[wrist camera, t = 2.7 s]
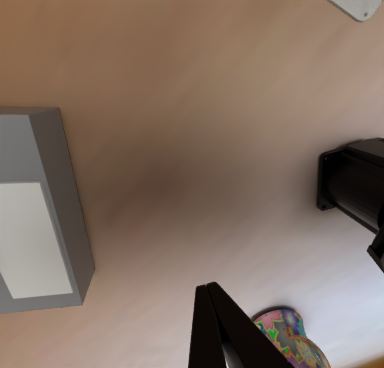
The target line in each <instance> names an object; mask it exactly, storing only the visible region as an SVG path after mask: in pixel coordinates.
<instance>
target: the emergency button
mask: <svg viewBox="0 0 384 368" xmlns="http://www.w3.org/2000/svg"><path fill="white" fill-rule="evenodd" d="M328 1H329V2H330V3H332V4H333V5H335V6H336V7H337V8H339V9H340V10H341V11H343V12H344V13H346V14H347V15H348V16H350V17H351V18H352V19H354V20H355V21H358V22H364V21H366V20H367V19H369V18H371V17H372V15H373V14H374V13H375V12H376V10H377V9H378V7H379V6H380V4H381V2H382V1H383V0H328Z"/></svg>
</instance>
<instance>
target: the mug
mask: <svg viewBox="0 0 384 368" xmlns="http://www.w3.org/2000/svg"><path fill="white" fill-rule="evenodd" d="M254 323H255V324H256V326H257V327H258V328H259V329H260V330H261V331H262V332H263V333H264V334H265V335H266V336H267V338H268V339H269V340H270V341H271V342H272V343H273V344H274V345H275V346H276V347H277V348H278V349H279V351H280V352H281V353H282V354H283V355H284V356H285V357H286V358H287V360H288V361H290V362H291V363H292V365H293V366H294V367H295V368H331V367H330V364H329V362H328V360H327V358H326V357H325V355H324V354H323V352H322V351H321V350H320V349H319V347H318V346H317V345H316V344H315V343H313V342H312V341H311V340H309V339H308V338H307V336H306V333H305V330H304V326H303V320H302V318H301V316H300V315H299V314H298V313H296V312H294V311H292V310H285V309H281V310H275V311H271V312H268V313H266V314H264V315H262V316H260V317H259V318H257V319H256V320H255V321H254ZM315 353H316V354H315ZM316 355H317V356H318V357H317V356H316ZM318 358H319V359H320V360H319V359H318ZM320 361H321V362H320Z"/></svg>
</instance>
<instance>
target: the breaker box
mask: <svg viewBox="0 0 384 368" xmlns="http://www.w3.org/2000/svg"><path fill="white" fill-rule="evenodd" d="M94 270H95V268H94V263H93V259H92V254H91V250H90V245H89V241H88V236H87V232H86V227H85V223H84V218H83V214H82V209H81V205H80V200H79V196H78V191H77V187H76V182H75V178H74V174H73V169H72V165H71V160H70V156H69V151H68V147H67V142H66V138H65V133H64V129H63V124H62V120H61V115H60V111H59V108H36V107H0V314H4V313H14V312H23V311H32V310H41V309H51V308H60V307H69V306H79V305H83V302H84V299H85V296H86V293H87V290H88V287H89V285H90V282H91V279H92V276H93V273H94Z"/></svg>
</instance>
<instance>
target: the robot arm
mask: <svg viewBox="0 0 384 368" xmlns="http://www.w3.org/2000/svg"><path fill="white" fill-rule="evenodd" d="M326 157H327V159H326V160H325V158H326ZM335 207H336V208H338V209H339V210H341V211H342V212H344V213H345V214H346V215H348V216H349V217H351V218H352V219H354V220H355V221H357V222H358V223H360V224H361V225H362V226H364V227H365V228H367V229H368V230H370V231H371V232H373V233H374V234H376V236H375V238H374V240H373V242H372V244H371V245H369V247H368V249H367V252H368V253H369V255H370V256H371V257H372V259H373V260H374V261H375V262H376V264H377V265H378V266H379V268H380V269H381V270H382V271H383V273H384V138H377V139H368V140H364V141H360V142H357V143H353V144H349V145H346V146H345V147H344V148H341V149H337V150H333V151H330V152H326V153H323V154H322V155H321V157H320V163H319V181H318V199H317V208H318V209H320V210H321V211H324V210H328V209H331V208H335ZM225 358H226V361H227V364H228V366H229V368H295V367H294V366H293V365H292V363H291V362H290V361H288V360H287V358H286V357H285V356H284V355H283V354H282V353H281V352H280V351H279V349H278V348H277V347H276V346H275V345H274V344H273V343H272V342H271V341H270V340H269V339H268V338H267V336H266V335H265V334H264V333H263V332H262V331H261V330H260V329H259V328H258V327H257V326H256V324H255V323H254V322H253V321H252V320H251V319H250V318H249V317H248V316H247V315H246V314H245V313H244V311H243V310H242V309H241V308H240V307H239V306H238V305H237V304H236V303H235V302H234V301H233V300H232V298H231V297H230V296H229V295H228V294H227V293H226V292H225V291H224V290H223V289H222V288H221V286H220V285H219V284H218V283H217V282H211V283H208V284H206V285H205V284H204V285H200V286H197V287H196V292H195V302H194V312H193V322H192V332H191V343H190V353H189V363H188V368H227V367H226V361H225Z"/></svg>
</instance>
